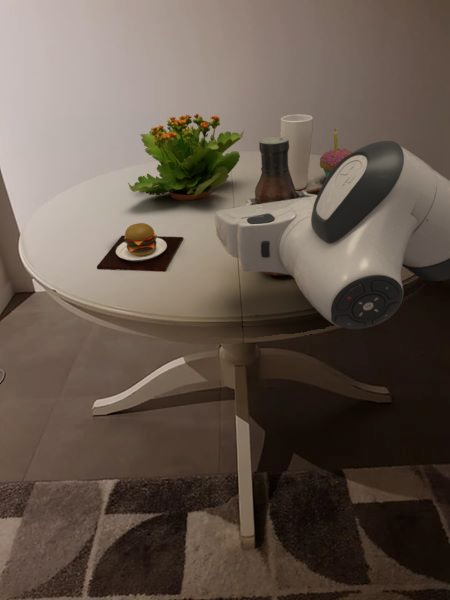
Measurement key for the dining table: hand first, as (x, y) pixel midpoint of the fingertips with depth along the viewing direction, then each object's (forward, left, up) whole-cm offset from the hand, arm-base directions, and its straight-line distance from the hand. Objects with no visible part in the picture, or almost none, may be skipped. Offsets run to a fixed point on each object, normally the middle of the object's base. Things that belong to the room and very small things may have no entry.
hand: (274, 199), depth 69 cm
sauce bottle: (0, +1, -11) cm, 11 cm away
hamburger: (+17, -17, -12) cm, 27 cm away
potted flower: (-2, -41, -12) cm, 42 cm away
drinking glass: (-23, -31, -12) cm, 40 cm away
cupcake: (-33, -29, -12) cm, 45 cm away
